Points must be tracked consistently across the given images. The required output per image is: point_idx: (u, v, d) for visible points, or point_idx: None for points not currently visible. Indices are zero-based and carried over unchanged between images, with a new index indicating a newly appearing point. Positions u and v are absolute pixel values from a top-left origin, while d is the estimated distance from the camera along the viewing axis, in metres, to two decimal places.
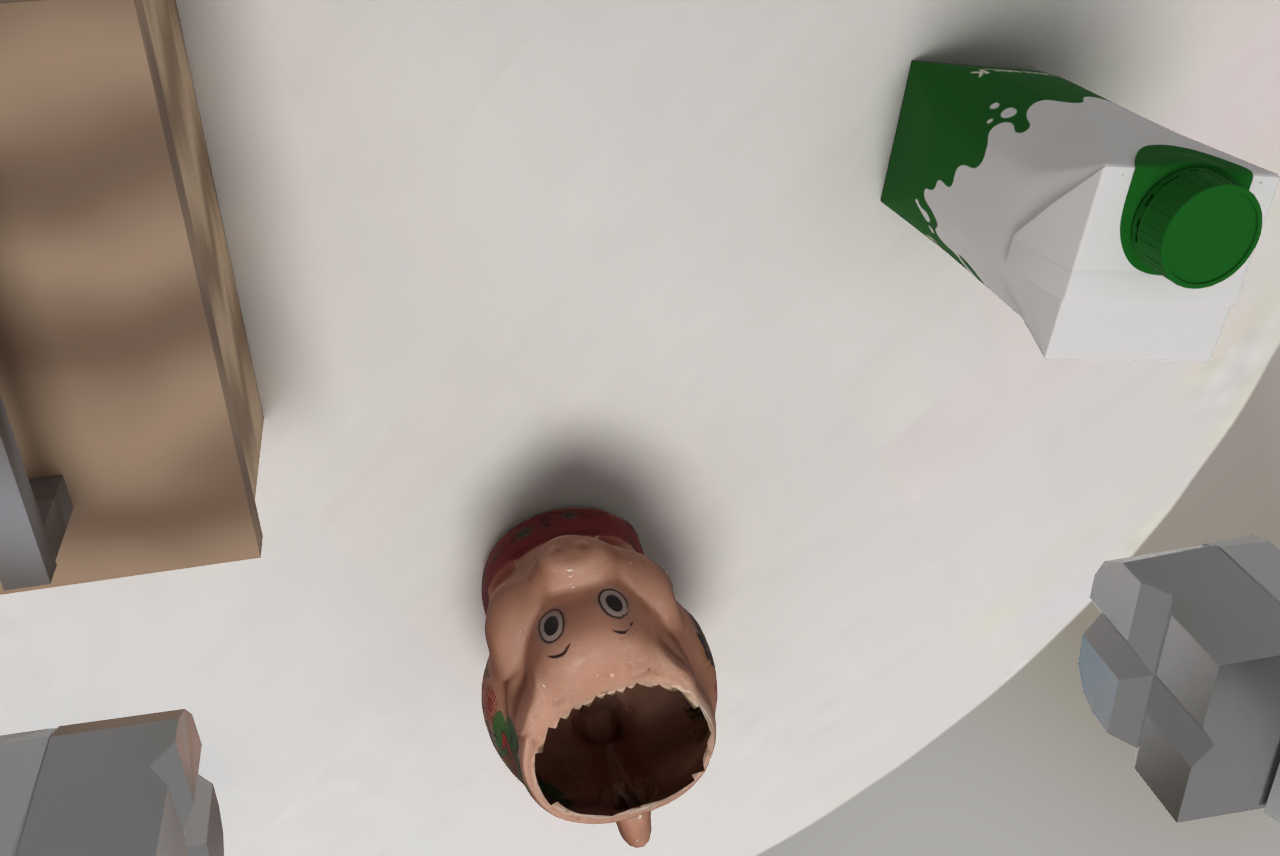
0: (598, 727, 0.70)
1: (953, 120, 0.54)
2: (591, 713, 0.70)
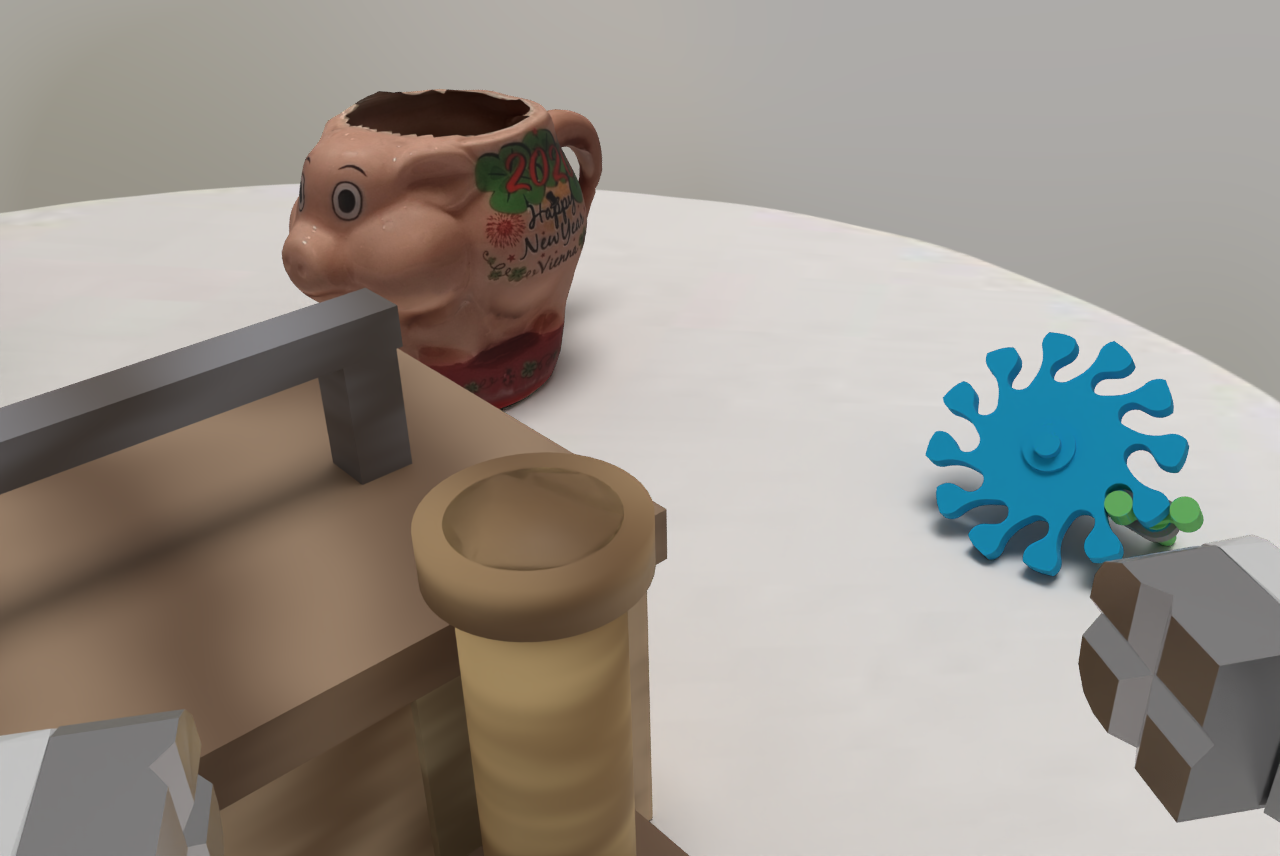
0: None
1: None
2: None
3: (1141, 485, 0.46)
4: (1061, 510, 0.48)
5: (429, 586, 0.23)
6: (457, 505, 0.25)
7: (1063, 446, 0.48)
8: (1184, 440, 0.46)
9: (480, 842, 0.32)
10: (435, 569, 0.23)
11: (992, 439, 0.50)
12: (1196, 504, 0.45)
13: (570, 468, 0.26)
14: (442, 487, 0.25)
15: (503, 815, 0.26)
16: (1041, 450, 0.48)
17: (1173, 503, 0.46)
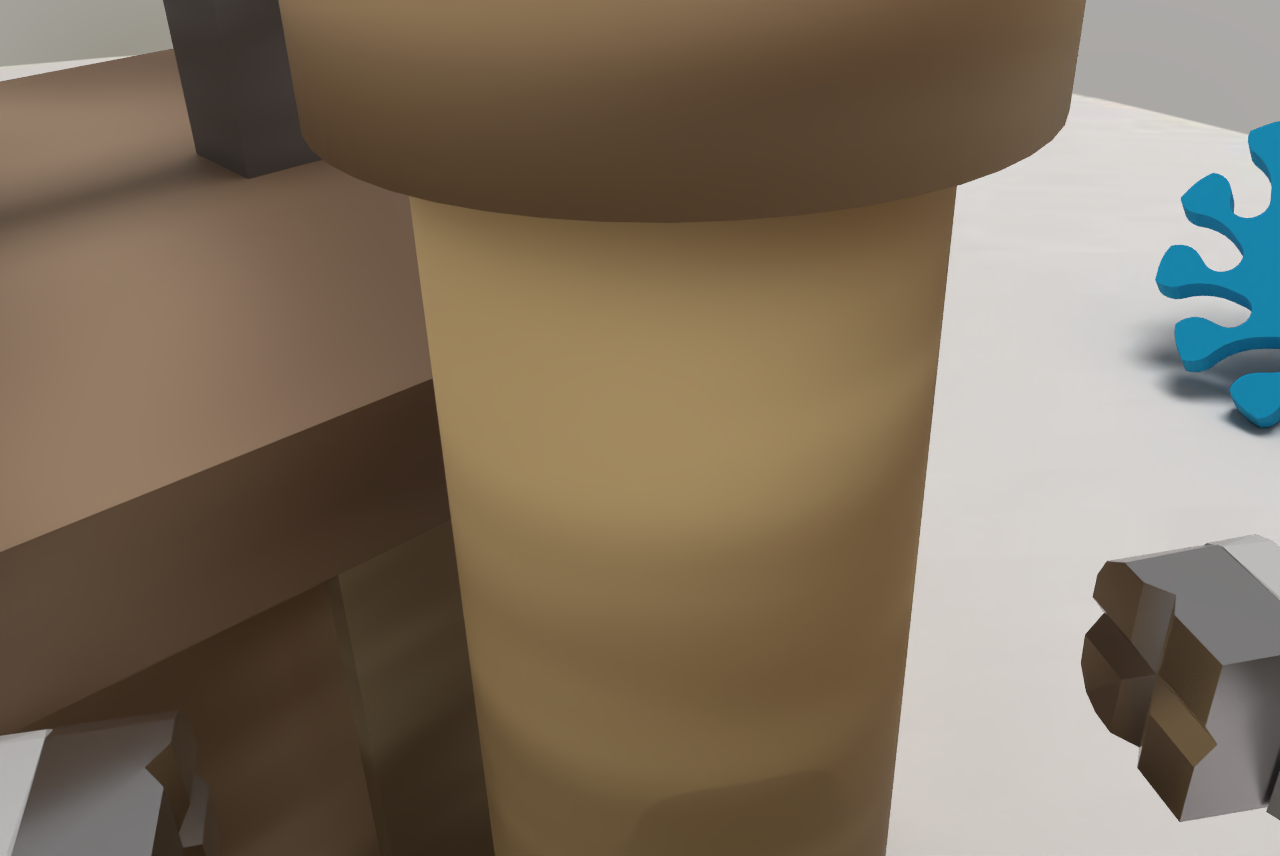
0: None
1: None
2: None
3: None
4: None
5: (320, 57, 0.06)
6: None
7: None
8: None
9: None
10: None
11: (1263, 251, 0.33)
12: None
13: None
14: None
15: None
16: None
17: None
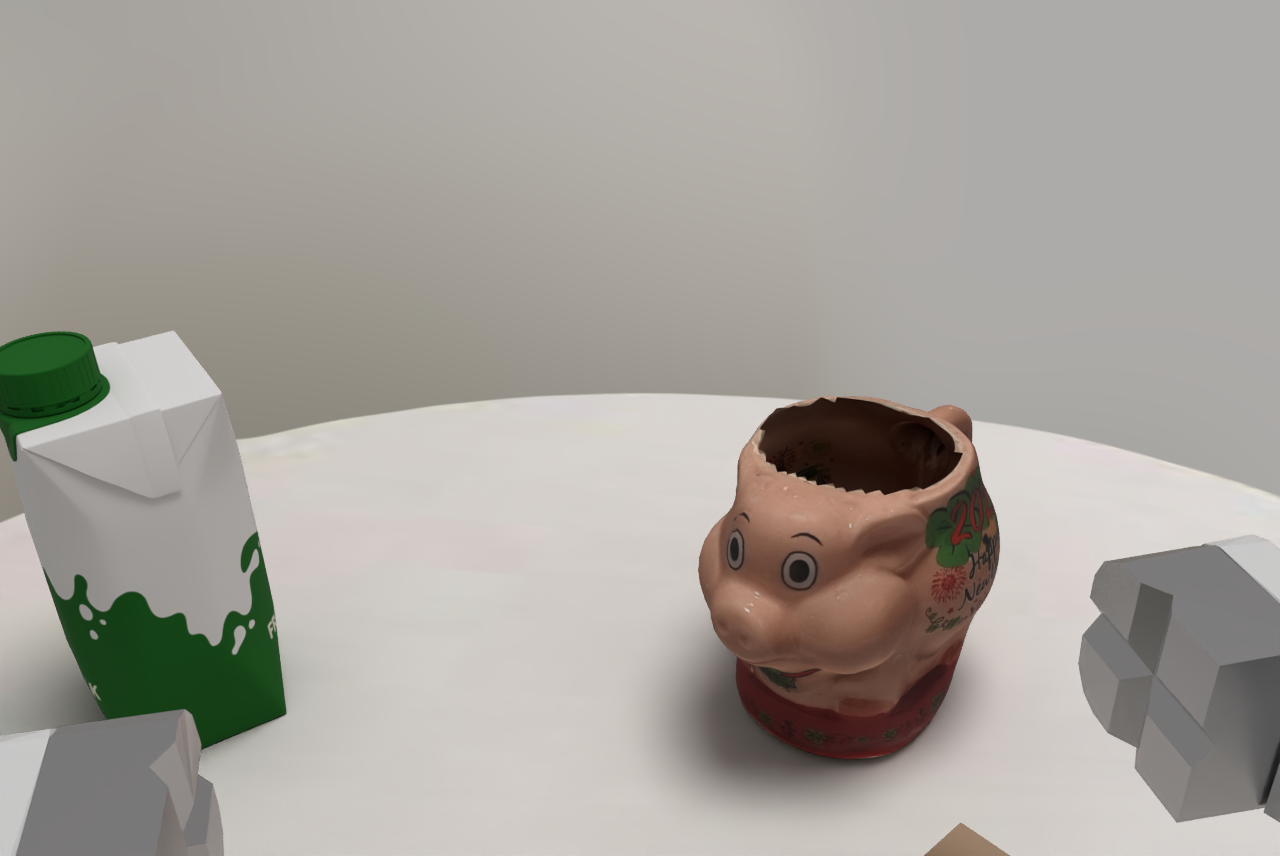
0: None
1: (132, 661, 0.53)
2: None
3: None
4: None
5: None
6: None
7: None
8: None
9: None
10: None
11: None
12: None
13: None
14: None
15: None
16: None
17: None
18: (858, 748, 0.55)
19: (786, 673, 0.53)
